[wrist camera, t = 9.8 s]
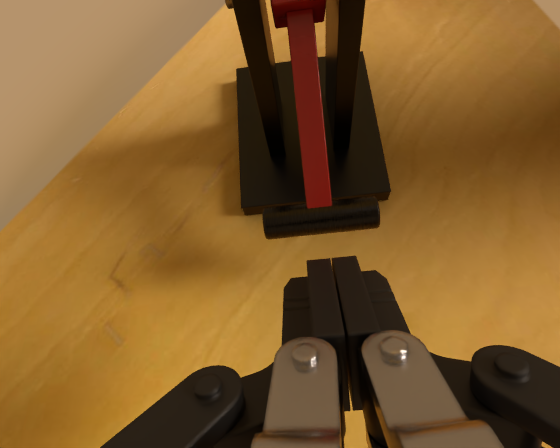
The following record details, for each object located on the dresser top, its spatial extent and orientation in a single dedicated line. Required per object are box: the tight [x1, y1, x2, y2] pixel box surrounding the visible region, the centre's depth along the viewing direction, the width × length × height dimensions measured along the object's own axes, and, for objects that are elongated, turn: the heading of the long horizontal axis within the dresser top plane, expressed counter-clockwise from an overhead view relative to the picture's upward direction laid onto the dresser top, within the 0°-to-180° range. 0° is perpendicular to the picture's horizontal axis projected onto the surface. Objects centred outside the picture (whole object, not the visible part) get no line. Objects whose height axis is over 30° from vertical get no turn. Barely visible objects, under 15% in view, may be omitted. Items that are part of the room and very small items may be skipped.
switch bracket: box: [225, 0, 391, 215], centre depth 20 cm, size 11×9×13 cm
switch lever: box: [263, 0, 380, 239], centre depth 16 cm, size 12×5×2 cm, turn 4°
